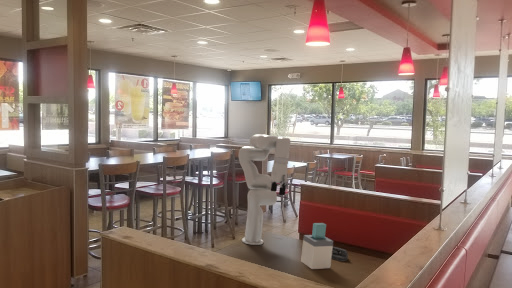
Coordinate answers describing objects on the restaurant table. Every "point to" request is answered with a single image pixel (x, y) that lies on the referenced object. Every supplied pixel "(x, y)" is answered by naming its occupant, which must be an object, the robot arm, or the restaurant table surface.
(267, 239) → the restaurant table surface
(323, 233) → the teal block
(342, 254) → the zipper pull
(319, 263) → the white slotted box
